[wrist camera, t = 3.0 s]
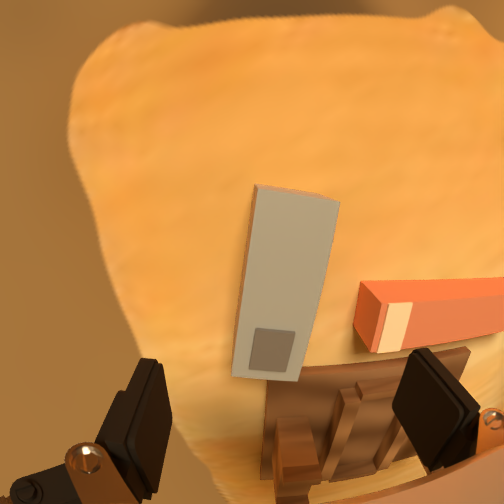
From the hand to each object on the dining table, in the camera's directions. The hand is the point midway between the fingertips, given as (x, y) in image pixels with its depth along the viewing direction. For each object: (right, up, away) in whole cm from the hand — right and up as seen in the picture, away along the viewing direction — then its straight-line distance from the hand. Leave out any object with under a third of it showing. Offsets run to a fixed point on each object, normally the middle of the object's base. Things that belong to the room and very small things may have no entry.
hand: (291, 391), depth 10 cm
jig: (+11, -14, +17) cm, 25 cm away
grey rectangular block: (0, +4, +12) cm, 13 cm away
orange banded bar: (+17, +1, +14) cm, 22 cm away
